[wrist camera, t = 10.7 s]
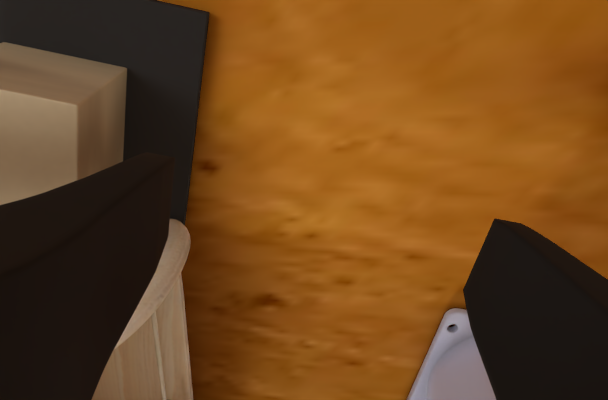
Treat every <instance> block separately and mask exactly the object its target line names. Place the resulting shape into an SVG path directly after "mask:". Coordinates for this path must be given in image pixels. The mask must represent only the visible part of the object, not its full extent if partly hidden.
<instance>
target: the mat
mask: <svg viewBox="0 0 608 400" xmlns="http://www.w3.org/2000/svg"><path fill="white" fill-rule="evenodd" d="M208 22H209V12H206V11H202V10H197V9H193V8H188V7H184V6H179V5H175V4H170V3H166V2H161V1H157V0H0V43H3V42H6V43H11V44H16V45H21V46H25V47H30V48H35V49H40V50H44V51H49V52H54V53H59V54H63V55H68V56H73V57H77V58H82V59H87V60H92V61H96V62H101V63H106V64H111V65H115V66H120V67H125V68H127V82H126V105H125V127H124V149H123V161H125V160H127V159H129V158H132V157H134V156H137V155H139V154H142V153H146V152H149V153H154V154H159V155H164V156H169V157H175V165H174V176H173V188H172V199H171V211H170V219H176V220H178V221H180V222H181V223H182V224H183V225H184V226H185V220H186V211H187V203H188V194H189V186H190V177H191V168H192V160H193V151H194V142H195V134H196V125H197V117H198V108H199V99H200V91H201V82H202V74H203V65H204V56H205V48H206V39H207V30H208Z"/></svg>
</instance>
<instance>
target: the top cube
mask: <svg viewBox="0 0 608 400" xmlns="http://www.w3.org/2000/svg"><path fill="white" fill-rule="evenodd" d="M126 82H127V68H125V67H120V66H115V65H111V64H106V63H101V62H96V61H92V60H87V59H82V58H77V57H73V56H68V55H63V54H59V53H54V52H49V51H44V50H40V49H35V48H30V47H25V46H21V45H16V44H11V43H6V42H3V43H0V205H2V204H6V203H10V202H14V201H18V200H21V199H25V198H28V197H31V196H35V195H38V194H41V193H44V192H47V191H50V190H52V189H55V188H58V187H60V186H63V185H66V184H69V183H71V182H74V181H77V180H80V179H82V178H85V177H87V176H90V175H92V174H94V173H97V172H99V171H101V170H104V169H106V168H108V167H111V166H113V165H115V164H118V163H120V162H122V161H123V149H124V127H125V105H126Z"/></svg>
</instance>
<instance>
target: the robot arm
mask: <svg viewBox="0 0 608 400" xmlns="http://www.w3.org/2000/svg"><path fill="white" fill-rule="evenodd" d="M174 165H175V157H169V156H164V155H159V154H154V153H149V152H146V153H142V154H139V155H137V156H134V157H132V158H129V159H127V160H125V161H122V162H120V163H118V164H115V165H113V166H111V167H108V168H106V169H104V170H101V171H99V172H97V173H94V174H92V175H90V176H87V177H85V178H82V179H80V180H77V181H74V182H71V183H69V184H66V185H63V186H60V187H58V188H55V189H52V190H50V191H47V192H44V193H41V194H38V195H35V196H31V197H28V198H25V199H21V200H18V201H14V202H10V203H6V204H2V205H0V400H92V397H93V395H94V393H95V390H96V388H97V385H98V383H99V380H100V378H101V375H102V373H103V371H104V369H105V366H106V364H107V362H108V360H109V358H110V356H111V354H112V352H113V350H114V348H115V346H116V345H117V343H118V341H119V339H120V337H121V335H122V334H123V332H124V330H125V328H126V326H127V324H128V323H129V321H130V319H131V317H132V315H133V313H134V311H135V310H136V308H137V306H138V304H139V302H140V300H141V299H142V297H143V295H144V293H145V291H146V289H147V287H148V285H149V284H150V282H151V280H152V278H153V276H154V274H155V272H156V269H157V266H158V264H159V261H160V258H161V256H162V253H163V250H164V247H165V244H166V242H167V239H168V233H169V222H170V211H171V199H172V188H173V176H174ZM463 291H464V297H465V303H466V309H467V310H465V309H459V308H453V309H450V310H448V311H447V312H446V313H445V314H444V317H443V319H442V321H441V323H440V326H439V328H438V330H437V332H436V335H435V337H434V339H433V341H432V344H431V346H430V348H429V350H428V353H427V355H426V357H425V359H424V362H423V364H422V366H421V368H420V371H419V373H418V375H417V377H416V380H415V382H414V384H413V386H412V389H411V391H410V393H409V395H408V398H407V400H608V280H607V279H606V278H604V277H603V276H601V275H600V274H598V273H597V272H596V271H594V270H593V269H591V268H590V267H588V266H587V265H585V264H584V263H582V262H581V261H579V260H578V259H577V258H575V257H574V256H572V255H571V254H569V253H568V252H566V251H565V250H563V249H562V248H561V247H559V246H558V245H556V244H555V243H553V242H552V241H550V240H549V239H547V238H546V237H544V236H542V235H541V234H539V233H538V232H536V231H534V230H532V229H531V228H529V227H527V226H525V225H523V224H521V223H516V222H510V221H505V220H500V219H494V221H493V223H492V226H491V228H490V230H489V232H488V235H487V237H486V239H485V242H484V244H483V246H482V248H481V251H480V253H479V255H478V257H477V260H476V262H475V264H474V267H473V269H472V271H471V273H470V276H469V278H468V280H467V282H466V285H465V287H464V289H463ZM452 324H455V325H454V326H453V327H448V326H449V325H452Z"/></svg>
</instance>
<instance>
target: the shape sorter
mask: <svg viewBox="0 0 608 400" xmlns="http://www.w3.org/2000/svg"><path fill="white" fill-rule="evenodd" d="M190 243H191V240H190V234H189V232H188V230H187V228H186V227H185V226H184V225H183V224H182V223H181V222H180V221H178V220H176V219H170V222H169V233H168V239H167V242H166V244H165V247H164V250H163V253H162V256H161V258H160V261H159V264H158V266H157V269H156V272H155V274H154V276H153V278H152V280H151V282H150V284H149V285H148V287H147V289H146V291H145V293H144V295H143V297H142V299H141V300H140V302H139V304H138V306H137V308H136V310H135V311H134V313H133V315H132V317H131V319H130V321H129V323H128V324H127V326H126V328H125V330H124V332H123V334H122V335H121V337H120V339H119V341H118V343H117V345H116V346H115V348H114V350H113V352H112V354H111V356H110V358H109V360H108V362H107V364H106V366H105V369H104V371H103V373H102V375H101V378H100V380H99V383H98V385H97V388H96V390H95V393H94V395H93V397H92V400H194V399H193V388H192V378H191V367H190V356H189V346H188V336H187V324H186V313H185V302H184V291H183V283H182V275H181V272H182V269H183V267H184V265H185V263H186V260H187V257H188V253H189V250H190Z"/></svg>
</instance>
